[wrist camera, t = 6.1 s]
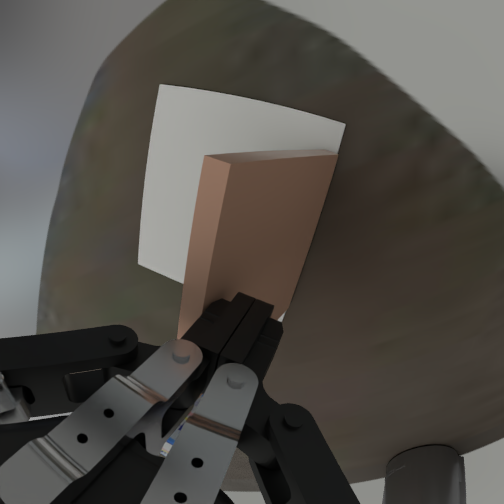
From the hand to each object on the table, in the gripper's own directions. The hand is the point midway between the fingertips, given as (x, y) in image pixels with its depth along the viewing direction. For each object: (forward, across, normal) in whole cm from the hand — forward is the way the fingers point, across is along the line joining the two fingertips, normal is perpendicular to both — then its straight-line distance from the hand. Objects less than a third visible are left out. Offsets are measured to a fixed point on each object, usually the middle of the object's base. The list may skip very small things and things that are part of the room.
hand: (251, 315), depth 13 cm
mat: (+11, +6, 0) cm, 13 cm away
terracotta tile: (+11, 0, 0) cm, 11 cm away
